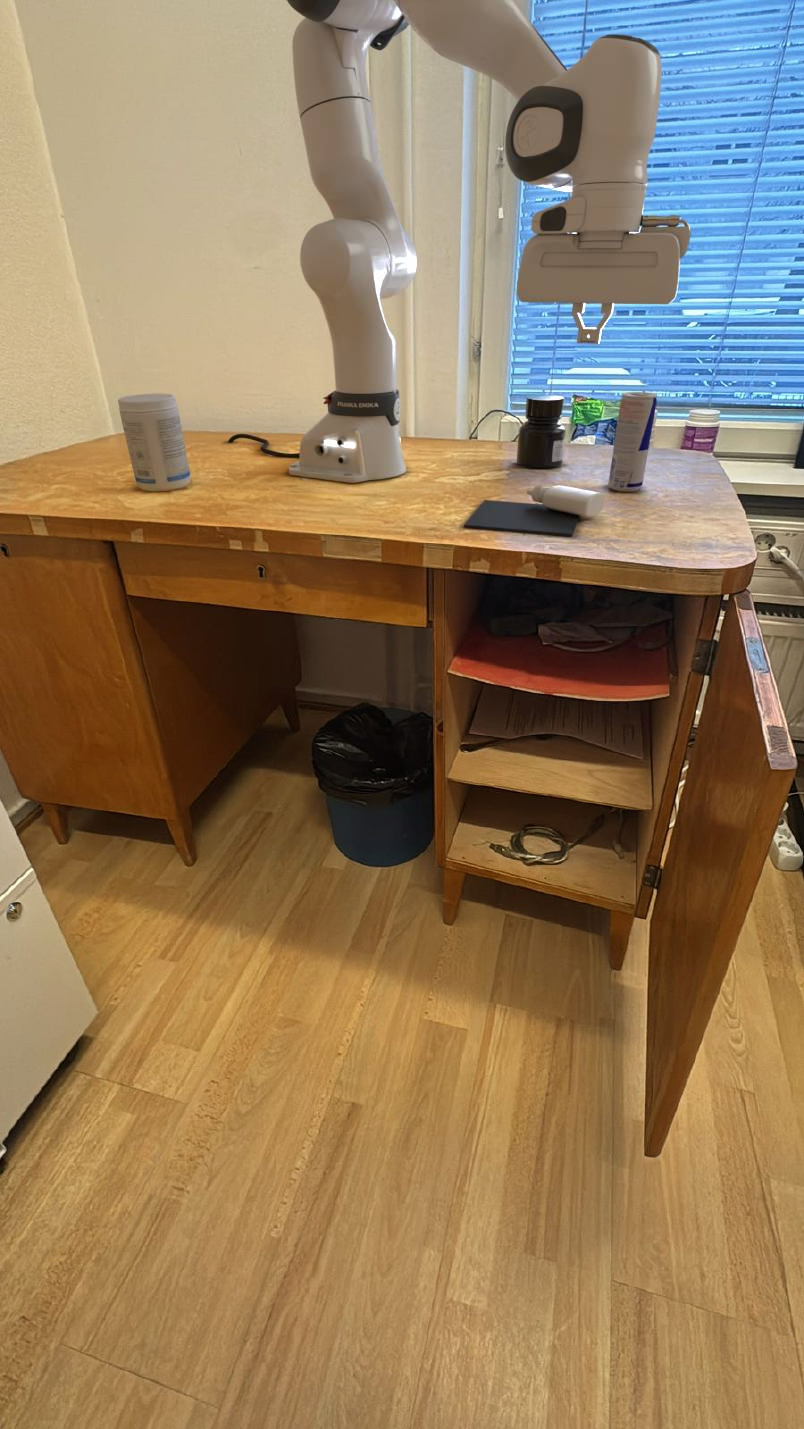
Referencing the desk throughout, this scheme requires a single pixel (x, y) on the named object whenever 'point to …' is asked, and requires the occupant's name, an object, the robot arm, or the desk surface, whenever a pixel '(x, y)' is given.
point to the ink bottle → (542, 433)
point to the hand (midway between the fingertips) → (588, 343)
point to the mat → (522, 518)
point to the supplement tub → (155, 441)
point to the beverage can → (632, 441)
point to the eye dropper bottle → (569, 499)
